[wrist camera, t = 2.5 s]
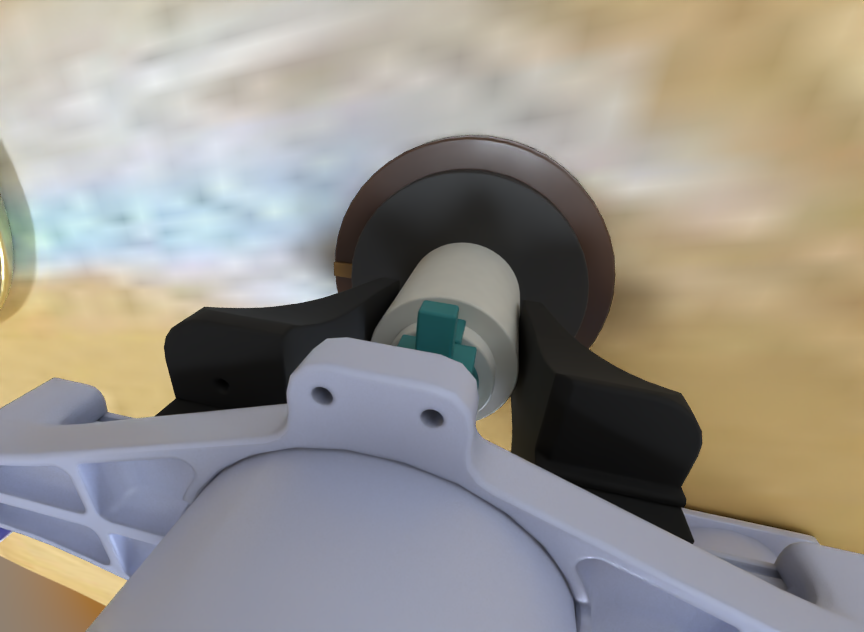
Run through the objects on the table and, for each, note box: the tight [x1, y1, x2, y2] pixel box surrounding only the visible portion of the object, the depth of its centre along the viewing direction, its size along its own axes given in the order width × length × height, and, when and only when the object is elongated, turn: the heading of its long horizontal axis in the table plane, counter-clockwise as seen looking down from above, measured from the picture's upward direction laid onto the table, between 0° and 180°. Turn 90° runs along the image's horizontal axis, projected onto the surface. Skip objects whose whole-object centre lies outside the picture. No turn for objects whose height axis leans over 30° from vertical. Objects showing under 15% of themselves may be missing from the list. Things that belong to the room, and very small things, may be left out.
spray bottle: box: [351, 169, 589, 421], centre depth 13 cm, size 9×9×8 cm
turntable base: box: [334, 135, 615, 397], centre depth 16 cm, size 11×11×1 cm
